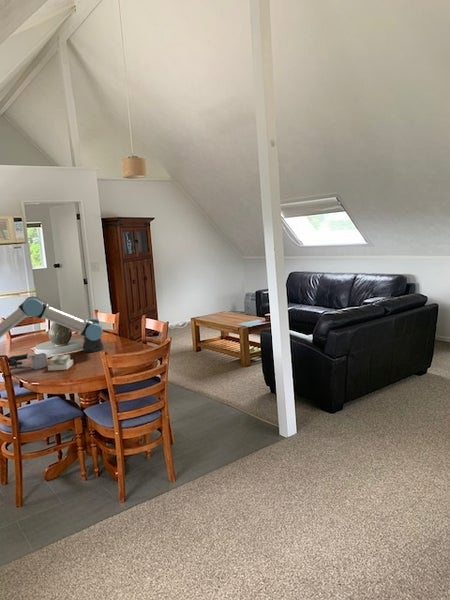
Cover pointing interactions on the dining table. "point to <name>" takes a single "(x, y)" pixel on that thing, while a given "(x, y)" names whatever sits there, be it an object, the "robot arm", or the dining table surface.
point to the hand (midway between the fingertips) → (32, 359)
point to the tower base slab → (61, 366)
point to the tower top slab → (59, 360)
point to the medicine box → (39, 361)
